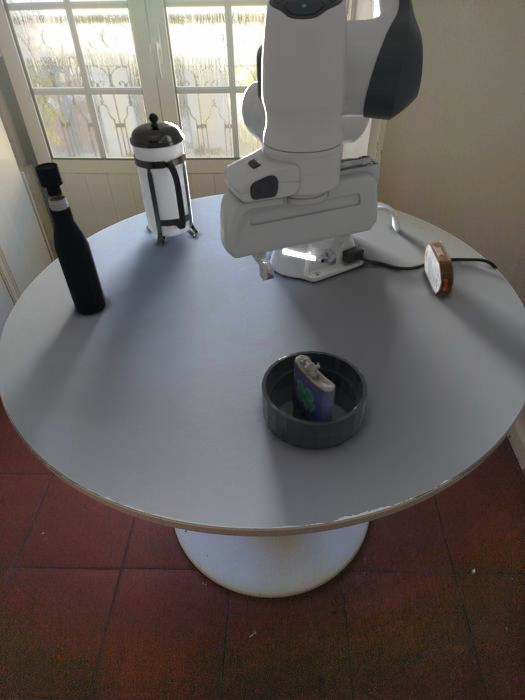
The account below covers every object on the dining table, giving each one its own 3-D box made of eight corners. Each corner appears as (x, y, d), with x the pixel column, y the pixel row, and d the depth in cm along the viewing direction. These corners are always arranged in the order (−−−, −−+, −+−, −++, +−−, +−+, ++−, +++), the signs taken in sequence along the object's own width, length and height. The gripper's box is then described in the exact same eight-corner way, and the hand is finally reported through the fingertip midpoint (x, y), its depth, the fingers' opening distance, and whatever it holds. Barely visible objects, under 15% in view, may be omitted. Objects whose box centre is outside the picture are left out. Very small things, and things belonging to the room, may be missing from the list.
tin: (449, 303, 99) (459, 268, 93) (434, 303, 99) (443, 268, 94) (432, 266, 110) (440, 233, 105) (419, 266, 110) (426, 233, 105)
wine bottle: (98, 316, 99) (53, 173, 79) (70, 313, 100) (19, 171, 80) (111, 299, 103) (72, 160, 84) (85, 296, 104) (40, 159, 85)
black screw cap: (334, 367, 84) (337, 341, 81) (381, 432, 73) (387, 406, 69) (249, 390, 81) (248, 364, 77) (284, 463, 69) (285, 437, 65)
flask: (334, 428, 73) (340, 378, 66) (319, 435, 72) (322, 386, 65) (302, 392, 79) (304, 343, 72) (287, 398, 78) (287, 349, 71)
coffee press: (131, 242, 124) (103, 120, 105) (163, 217, 135) (143, 103, 116) (188, 253, 119) (170, 126, 99) (217, 226, 130) (205, 108, 110)
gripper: (368, 145, 59) (356, 244, 68) (210, 170, 54) (221, 274, 63) (395, 161, 54) (379, 265, 63) (226, 190, 49) (235, 299, 58)
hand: (299, 270), depth 63 cm, fingers open, 8 cm apart
